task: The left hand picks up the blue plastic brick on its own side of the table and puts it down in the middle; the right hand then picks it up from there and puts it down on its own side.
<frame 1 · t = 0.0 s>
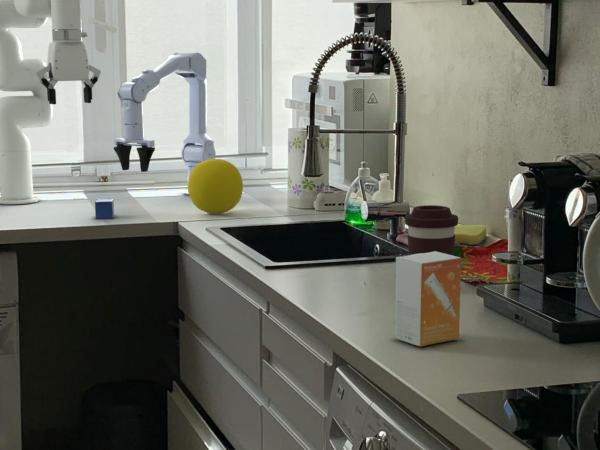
left hand: (70, 103, 273), 31 cm above the worktop, tool pointing down, fingers open, 9 cm apart
right hand: (135, 170, 305), 10 cm above the worktop, tool pointing down, fingers open, 7 cm apart
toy: (215, 213, 288), on the worktop
coffee cup: (430, 287, 198), on the worktop
small box: (427, 340, 162), on the worktop
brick: (104, 217, 284), on the worktop
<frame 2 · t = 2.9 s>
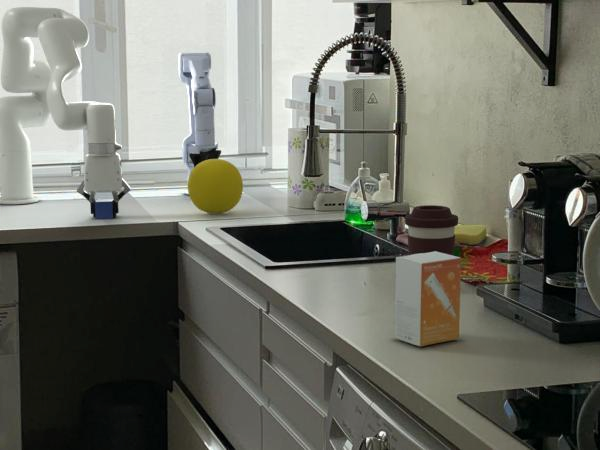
left hand: (104, 215, 284), 0 cm above the worktop, tool pointing down, fingers closed on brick, 4 cm apart
right hand: (205, 175, 309), 8 cm above the worktop, tool pointing down, fingers open, 7 cm apart
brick: (104, 217, 284), on the worktop, touching left hand
everything else where it was.
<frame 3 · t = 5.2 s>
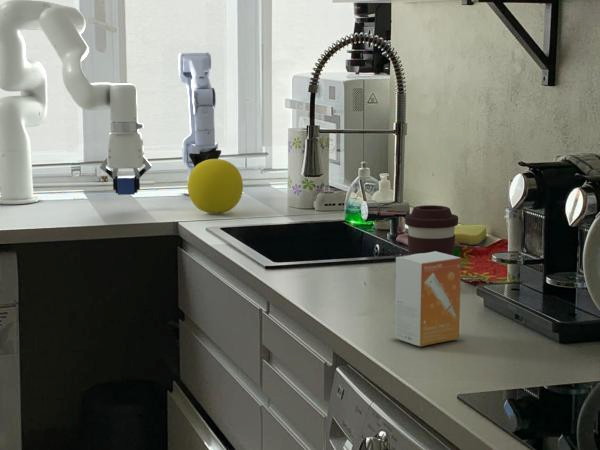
left hand: (126, 191, 296), 5 cm above the worktop, tool pointing down, fingers closed on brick, 4 cm apart
right hand: (205, 175, 309), 8 cm above the worktop, tool pointing down, fingers open, 7 cm apart
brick: (126, 193, 296), point 5 cm above the worktop, touching left hand
everything else where it was.
when the left hand's fingers open (1 cm above the worktop, at t = 7.4 s): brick stays where it is, on the worktop.
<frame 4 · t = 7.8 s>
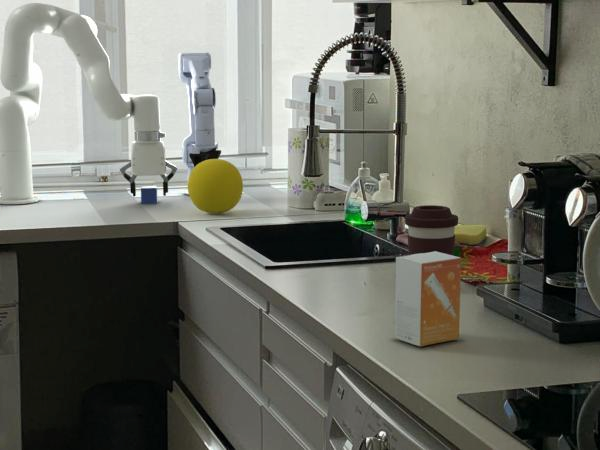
left hand: (149, 195, 310), 2 cm above the worktop, tool pointing down, fingers open, 8 cm apart
right hand: (205, 175, 309), 8 cm above the worktop, tool pointing down, fingers open, 7 cm apart
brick: (149, 202, 311), on the worktop
everything else where it was.
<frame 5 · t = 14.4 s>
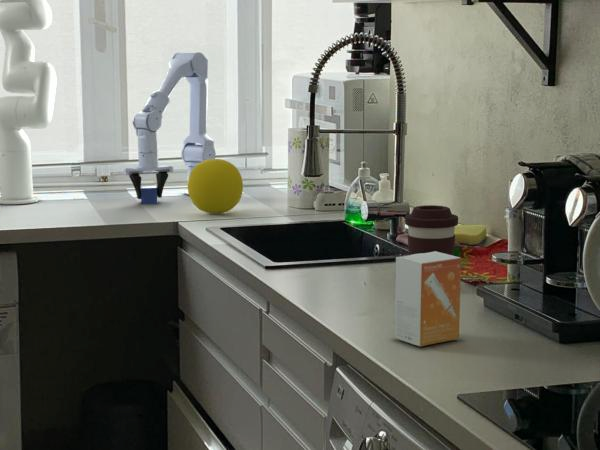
right hand: (149, 197, 311), 1 cm above the worktop, tool pointing down, fingers closed on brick, 5 cm apart
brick: (149, 202, 311), on the worktop, touching right hand
everything else where it was.
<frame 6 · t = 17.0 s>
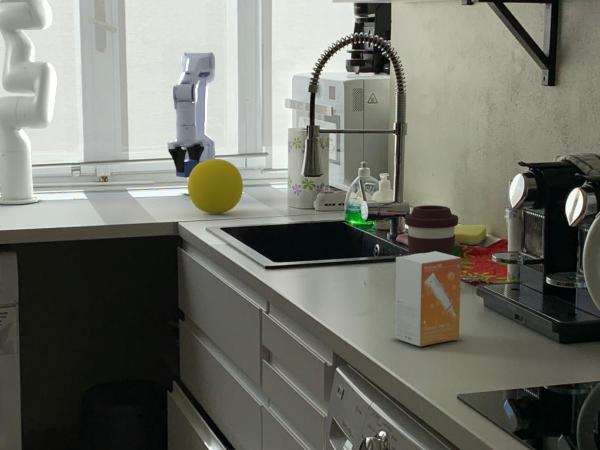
right hand: (187, 171, 308), 9 cm above the worktop, tool pointing down, fingers closed on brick, 5 cm apart
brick: (187, 176, 308), point 8 cm above the worktop, touching right hand
everything else where it was.
when the right hand's fingers open (2 cm above the worktop, at t = 19.6 s): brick stays where it is, on the worktop.
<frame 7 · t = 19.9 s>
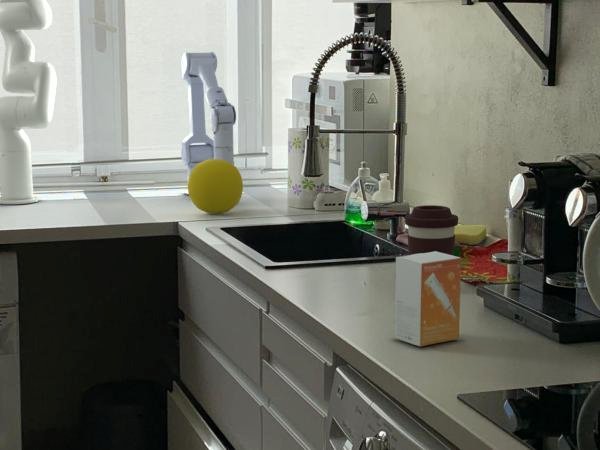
right hand: (224, 193, 307), 3 cm above the worktop, tool pointing down, fingers open, 7 cm apart
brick: (224, 203, 308), on the worktop
everything else where it was.
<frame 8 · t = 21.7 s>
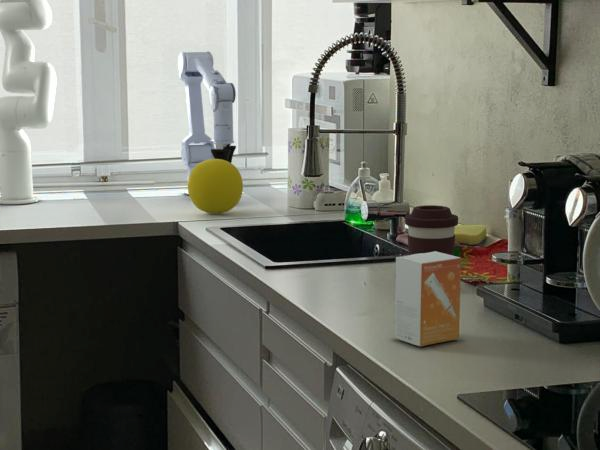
right hand: (224, 171, 306), 9 cm above the worktop, tool pointing down, fingers open, 7 cm apart
nothing on the worktop moved.
at the end: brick inside the target area (0.0 cm from its centre), on the worktop; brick tilted 0°; the two hands never held the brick at the same time; the left hand is holding nothing; the right hand is holding nothing; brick at rest at the end (0.0 cm/s) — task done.
